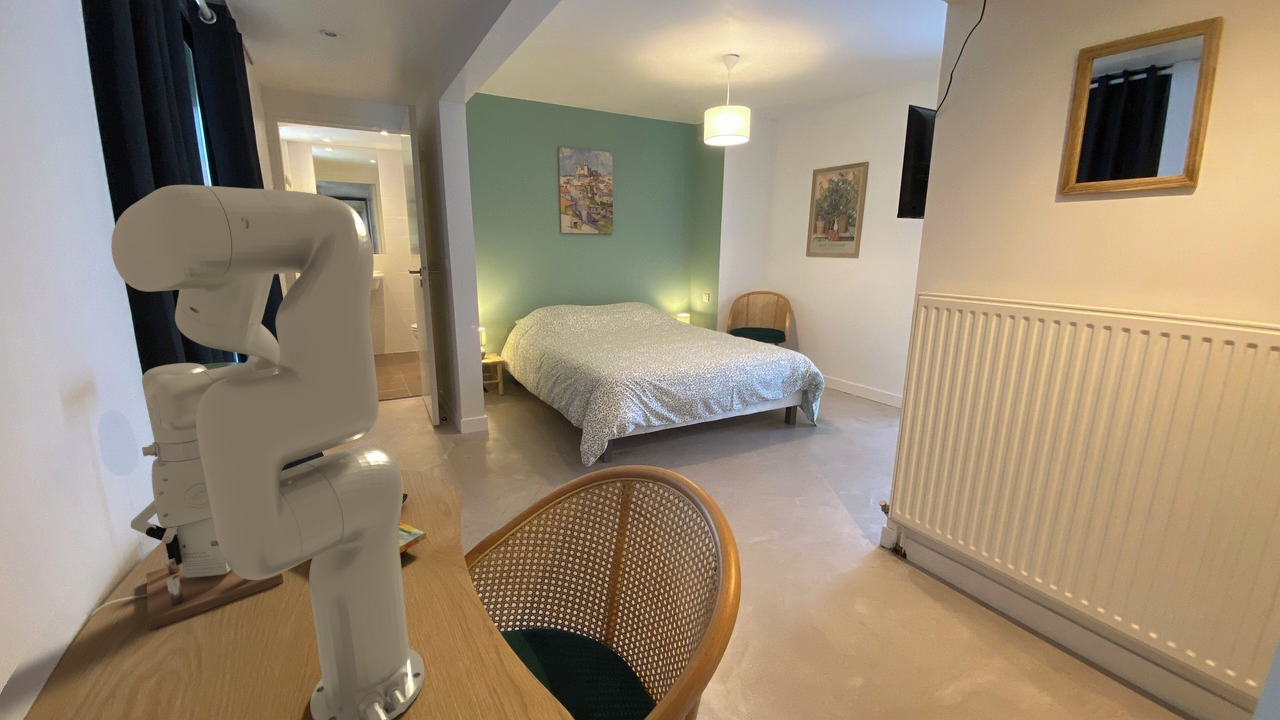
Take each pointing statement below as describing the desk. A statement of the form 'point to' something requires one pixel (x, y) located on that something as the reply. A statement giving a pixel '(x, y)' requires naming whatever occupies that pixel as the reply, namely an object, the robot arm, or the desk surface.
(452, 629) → the desk surface
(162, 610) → the post stand
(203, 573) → the skincare box
